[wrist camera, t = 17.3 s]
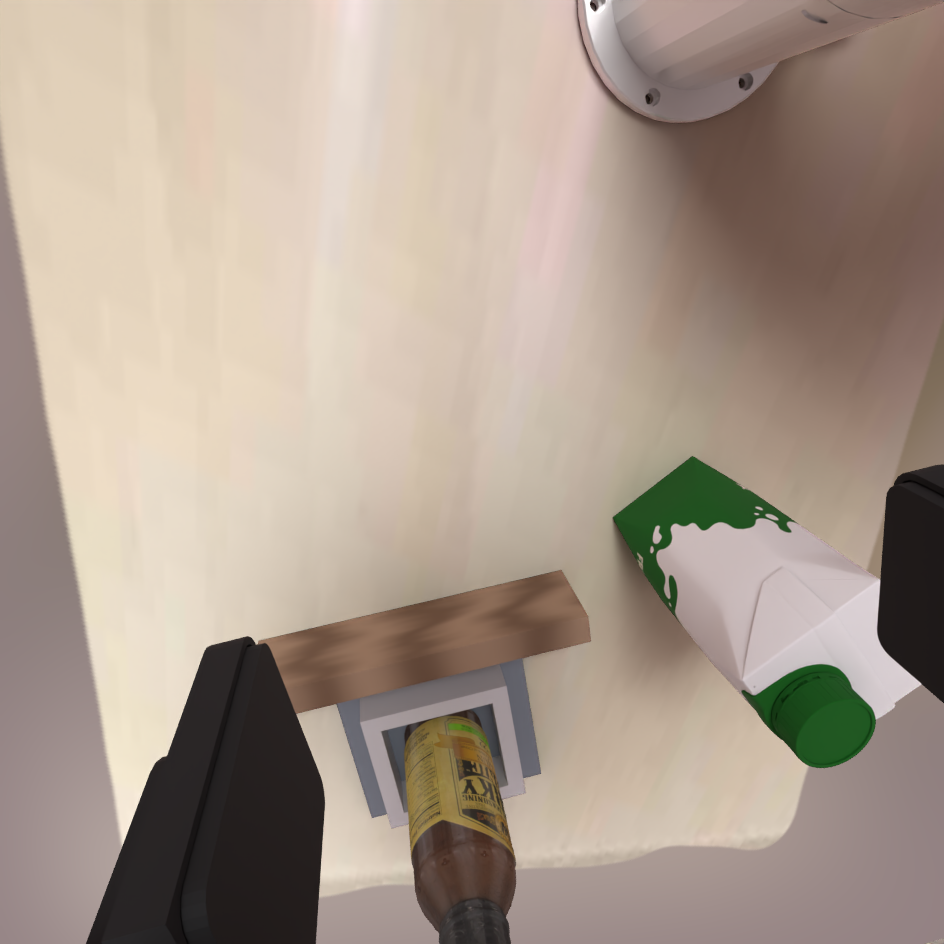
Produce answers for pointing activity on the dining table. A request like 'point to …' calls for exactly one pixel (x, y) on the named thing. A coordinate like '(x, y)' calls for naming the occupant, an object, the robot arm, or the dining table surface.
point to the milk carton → (769, 609)
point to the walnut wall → (429, 640)
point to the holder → (482, 690)
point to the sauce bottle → (458, 830)
